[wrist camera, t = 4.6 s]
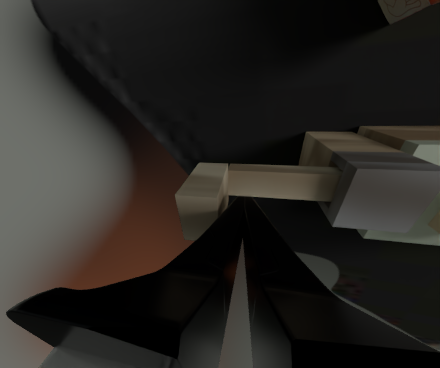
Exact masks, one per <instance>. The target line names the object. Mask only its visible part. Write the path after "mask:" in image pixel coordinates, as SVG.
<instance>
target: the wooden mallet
mask: <svg viewBox="0 0 440 368" xmlns="http://www.w3.org/2000/svg"><path fill="white" fill-rule="evenodd" d="M342 174H343V170H342V169H340V168H339V167H315V166H285V165H254V164H230V166H229V169H228V164H224V163H198V165H197V166H196V167H195V169H194V170H193V171H192V173H191V174H190V176H189V177H188V178H187V180H186V181H185V182H184V184H183V185H182V186H181V188H180V189H179V190H178V192H177V193H176V194H175V198H176V203H177V207H178V212H179V217H180V221H181V226H182V231H183V235H184V239H186V240H193V241H196V240H197V239H198V238H199V237H200V236H201V235H202V234H203V233H204V232H205V231H206V230H207V229H208V228H209V227H210V226H211V224H212V223H213V222H214V221H215V220H216V219H217V218H218V217H219V216H220V215H221V214H222V213H223V212H224V210H225V209H226V208H227V205H228V195H236V196H251V197H267V198H282V199H297V200H312V201H327V202H332V199H333V197H334V194H335V191H336V189H337V186H338V184H339V181H340V179H341V176H342Z"/></svg>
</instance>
